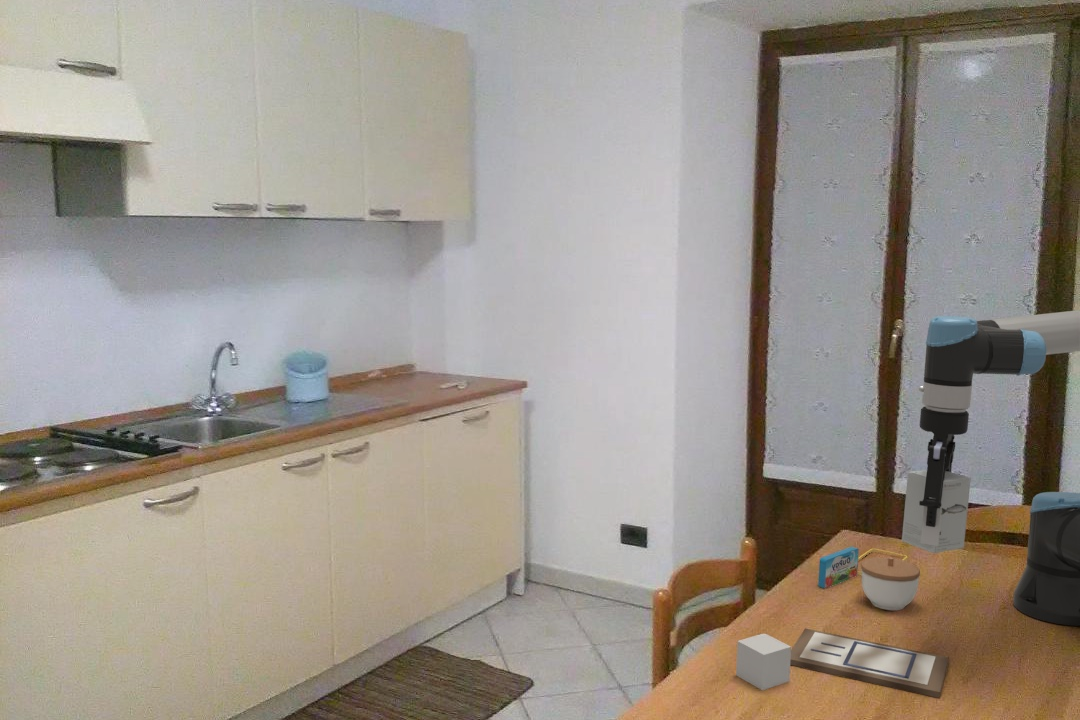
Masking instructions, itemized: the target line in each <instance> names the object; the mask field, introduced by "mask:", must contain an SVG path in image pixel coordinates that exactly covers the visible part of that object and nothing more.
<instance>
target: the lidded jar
mask: <svg viewBox="0 0 1080 720" xmlns="http://www.w3.org/2000/svg"><path fill="white" fill-rule="evenodd" d="M860 564H861V565H860V569H861V576H860V577H861V579H860V580H861V586H862V590H863V592H864V594H865V596H866V598H867V599H868V600H869V601H870V603H871V604H872V605H873V607H875V608H878V609H882V610H885V611H901V610H903V609H905V607H906V606H908V605H909V604H910V603H911V602H912V601H913V600H914V598H915V596H916V595H917V591H918V589H919V584H920V583H919V582H920V581H919V579H920V574H921V569H920V568H919V567H918V566H917V565H915V564H913V563H912V562H909V561H908V560H907V561H904V560H902V559H900V558H894V557H893V556H892V557H891V556H890V557H885V556H884V557H883V556H881V557H880V556H879V557H878V556H877V557H876V556H874V557H869V558H866V559H863V560H862V561H861V563H860Z"/></svg>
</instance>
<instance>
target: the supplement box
mask: <svg viewBox="0 0 1080 720" xmlns="http://www.w3.org/2000/svg"><path fill="white" fill-rule="evenodd" d="M926 475H927V469H923V470H914V471H908V472H907V477H906V478H907V479H906V492H905V502H904V511H903V512H904V514H903V523H902V533H901V534H902V535H901V542H903V543H905V544H908V545H911V546H913V547H916V548H918V549H921V550H923V551H926V552H928V553H931V554H935V555H936V554H937V553H943V552H947V551H948V552H949V551H954V550H963V549H965V539H966V538H965V537H966V528H967V521H968V510H969V509H968V508H969V500H970V499H969V498H970V489H971V479H972V478H971V477H968V476H966V475H962V474H958V473H955V472H952V471H951V472H948V471H945V478H944V481H943V491H942V499H941V507H942V511H941V522H940V533H939V544H938V546H934V545H929V544H923V543H921V533H922V521H923V510H924V506H921V505H919V502H920V501H923V499H924V491H925V483H926ZM929 498H931V497H929ZM931 499H936V498H931Z"/></svg>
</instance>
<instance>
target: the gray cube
mask: <svg viewBox="0 0 1080 720" xmlns="http://www.w3.org/2000/svg"><path fill="white" fill-rule="evenodd" d="M791 649H792V645H791V646H790V645H788V644H787V643H785V642H783V641H781V640H778V639H777V638H775V637H773V636H771V635H769V634H766V633H765V632H764V633H761V634H757V635H753V636H749V637H747V638H743V639H740V640H737V645H736V664H735V665H736V666H735V676H736V677H738V678H740V679H742V680H743V681H745V682H747V683H748V684H750V685H752V686H754V687H755V688H758V689H759V690H761V691H764V690H768V689H770V688H773V687H777V686H779V685H784V684H786V683H789V682H790V676H791V665H790V660H791Z"/></svg>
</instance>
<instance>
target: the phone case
mask: <svg viewBox="0 0 1080 720" xmlns="http://www.w3.org/2000/svg"><path fill="white" fill-rule="evenodd" d="M871 552H872V553H875V552H877V553H876V554H879V552H880V553H884V554H885V556H888V554H889V555H890V554H891V555H892V557H895V556H898V557H901V556H902V559H901V560H904V561H907V562H908V555H906V554H901V553H897V552H894V551H893V552H892V551H888V550H883V549H879V548H870V549H869V550H867V551H865V552H864V553H863V554H861V555H860V556H858V560H860V559H861V560H863V559H864V558H866V557H867V556H868V555H870V554H872V553H871ZM869 553H870V554H869ZM866 555H867V556H866ZM865 556H866V557H865ZM863 557H864V558H863ZM862 558H863V559H862ZM861 560H860V561H861ZM861 572H862V570H861V571H859V570H857V574H858V575H857V576H859V575H861Z"/></svg>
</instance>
